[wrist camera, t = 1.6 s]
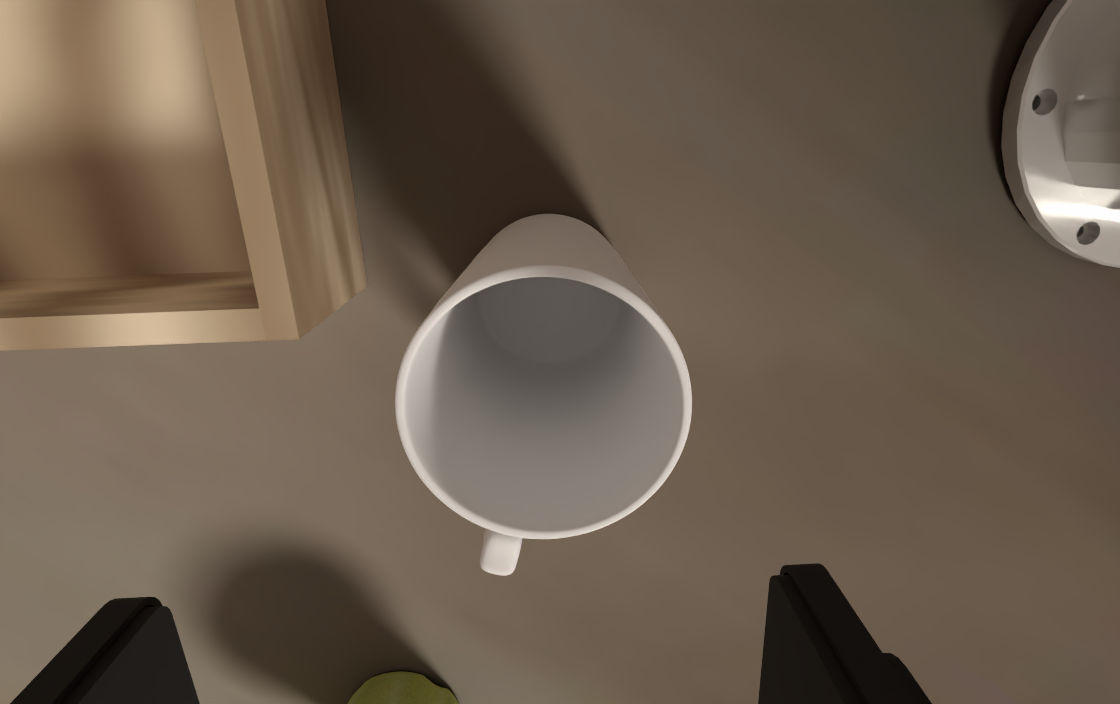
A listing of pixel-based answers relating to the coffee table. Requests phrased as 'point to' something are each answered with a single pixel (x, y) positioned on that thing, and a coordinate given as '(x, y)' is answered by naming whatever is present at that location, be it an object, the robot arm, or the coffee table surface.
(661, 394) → the mug
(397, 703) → the plant pot
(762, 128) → the coffee table surface
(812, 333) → the coffee table surface
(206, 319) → the open wooden crate
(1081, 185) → the robot arm
